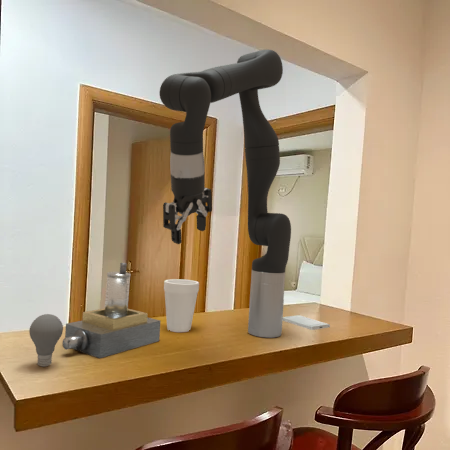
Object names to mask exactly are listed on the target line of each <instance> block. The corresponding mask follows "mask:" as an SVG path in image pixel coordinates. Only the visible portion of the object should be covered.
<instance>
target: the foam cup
mask: <svg viewBox="0 0 450 450" xmlns="http://www.w3.org/2000/svg"><path fill="white" fill-rule="evenodd" d="M199 289H200V282H199V281H197V280H192V279H184V278H183V279H182V278H181V279H179V278H178V279H177V278H171V279H170V278H169V279H165V280H164V281H163V291H164V299H165V300H164V302H165V317H166V329H167V331H169V330H170V332H174V333H187V332H190V331H191V328H192V323H193V317H194V313H195V309H196V302H197V297H198V292H200V290H199ZM189 330H190V331H189Z"/></svg>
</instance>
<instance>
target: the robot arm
mask: <svg viewBox="0 0 450 450" xmlns="http://www.w3.org/2000/svg"><path fill="white" fill-rule="evenodd" d="M283 67H284V66H283V62H282V59H281V56H280V55H279V53H278V52H277V51H275V50H272V49H261V50H257V51H254V52H249V53H246V54H243V55H241V56H240V57H239V58H238V59H237V61H236V62H235V63H230V64H225V65H220V66H219V65H218V66H215V67H211V68H208V69H204V70H201V71H195V72H193V71H192V72H182V73H176V74H175V73H174V74H172V75H168V77H166V78H165V79H164V80H163V81H162V83H161V84H160V87H159V99H160V100H161V103H162V105H164V106H165V107H166V108H167V109H169V110H172V111H177V112H183V113H184V112H185V119H184V120H183V121H179V122H176V123H174V124H172V125H171V127H170V130H169V142H170V143H169V144H170V158H169V159H170V160H169V166H170V167H169V169H170V187H171V189H170V190H171V192H172V194H173V200H172V202H166V201H165V202H163V204H162V214H163V215H162V216H163V217H162V219H163V220H162V221H163V222H162V223H163V224H162V225H163V228H164V229H166V230H170V237H171V238H170V239H171V241H172V242H173V243H174V244H177V245H180V244H182V241H183V240H182V229H181V228H182V225H183V223H184V222H186V221H187V218H188V216H190V215H192V214H195V213H196V229H197V230H198V231H200V232H205V231H206V228H207V216H208V213H211V212H212V211H213V199H212V198H213V197H212V195H213V194H212V189H211V188H208V187H205V185H206V184H205V183H206V182H205V181H206V179H205V157H204V129H205V125H206V121H207V118H208V117H207V116H208V113H209V110H210V106H211V104H212V103H215V102H218V101H221V100H224V99H227V98H229V97H232V96H234V95H237V94H238V95H239V101H240V107H241V116H242V125H243V126H242V127H243V136H244V139H243V140H244V141H243V142H244V156H245V157H244V159H245V166H246V178H247V180H246V181H247V232H248V236H249V239H250V242H252V243H253V244H254V245H257V246H263V247H267V249H266V252H265V254H264V255H263V256H260V257H258V258H255V259H253V260H252V262H251V263H252V264H251V277H250V279H251V280H250V290H249V291H250V294H249V306H248V307H249V309H248V310H249V311H248V326H247V332H248V333H249V335H252V336H255V337H260V338H278V337H281V336H282V332H283V331H282V330H283V322H284V321H283V317H284V304H285V303H284V302H285V301H284V300H285V299H284V297H285V282H286V267H287V264H288V261H289V257H290V247H291V246H290V245H291V238H292V224H291V220H290V218H289V217H288V216H287V215H286V214H284V213H277V212H276V213H275V212H268V196H269V191H270V188H271V186H272V184H273V181H274V179H275V178H276V177H277V176H276V175H277V173H278V171H279V167H280V164H281V156H280V155H281V153H280V143H279V141H280V140H279V138H278V135H277V133H276V131H275V129H274V128H273V126H272V124H270V122H269V121H268V118H266V116H265V114H264V112H263V111H262V109H261V105H260V100H259V92H258V91H259V90H262V89H263V90H264V89H268V88H273V87H275V86H277V84H279V83H280V81H281V79H282V77H283V74H284V73H283V69H284V68H283ZM178 214H180V215H178Z"/></svg>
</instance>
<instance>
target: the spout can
mask: <svg viewBox="0 0 450 450" xmlns="http://www.w3.org/2000/svg"><path fill="white" fill-rule="evenodd" d="M127 265H128V264H127V262H120V265H119V266H120V267H119V271H108V272H106V288H105V300H104V308H105V311H104V316H106V317H110V318H119V317H124V316H127V310H128V309H129V295H130V294H129V293H130V284H131V283H130V281H131V277H132V276H131V275H132V274H131V272H127Z"/></svg>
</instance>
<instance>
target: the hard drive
mask: <svg viewBox="0 0 450 450" xmlns="http://www.w3.org/2000/svg"><path fill="white" fill-rule="evenodd" d="M282 322H286V323H288V324H292V325H295V326H298V327H301V328H304V329H307V330H310V331H313V330H314V331H315V330H321V329H327V328H330V327H331V325H330V323H327V322H324V321H323V322H322V321H319V320H317V319H314V318H310V317H308V316H304V315H300V314H298V315H290V316H283V321H282Z"/></svg>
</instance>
